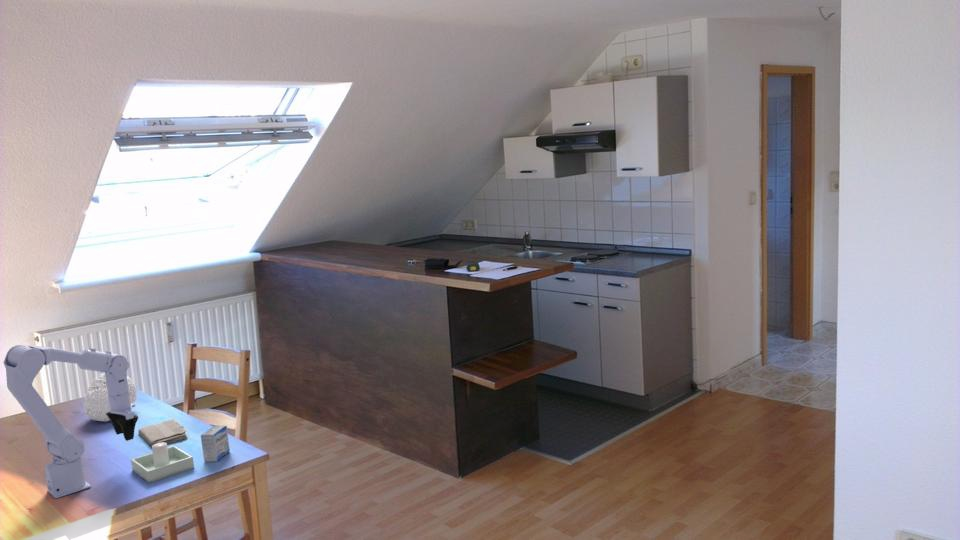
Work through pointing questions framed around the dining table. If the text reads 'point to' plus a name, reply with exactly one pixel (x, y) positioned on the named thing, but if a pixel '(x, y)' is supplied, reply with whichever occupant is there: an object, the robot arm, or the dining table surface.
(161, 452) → the white capsule cylinder
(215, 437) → the medicine box
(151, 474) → the tote
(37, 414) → the robot arm
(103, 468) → the dining table surface
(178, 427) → the washcloth
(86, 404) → the cauliflower
